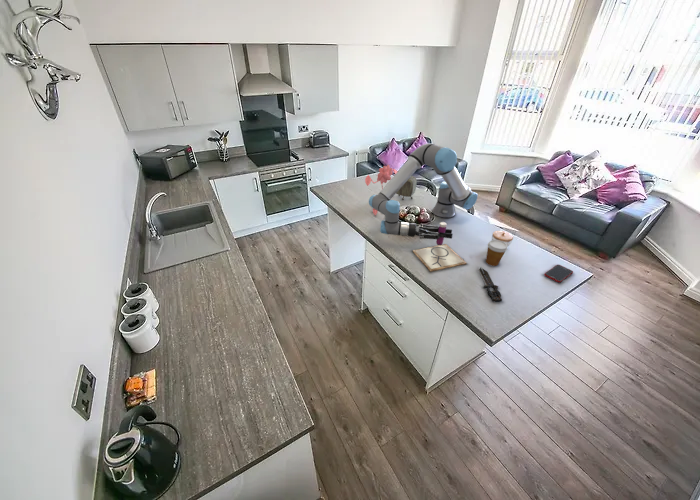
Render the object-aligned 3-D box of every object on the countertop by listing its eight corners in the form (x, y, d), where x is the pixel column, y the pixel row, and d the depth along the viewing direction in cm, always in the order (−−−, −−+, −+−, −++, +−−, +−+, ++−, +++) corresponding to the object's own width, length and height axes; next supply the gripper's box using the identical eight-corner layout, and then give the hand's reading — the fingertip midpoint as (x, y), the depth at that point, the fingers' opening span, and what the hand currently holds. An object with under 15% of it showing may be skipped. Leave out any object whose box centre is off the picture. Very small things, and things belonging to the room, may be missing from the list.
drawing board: (445, 245, 171) (446, 243, 170) (466, 264, 155) (466, 262, 155) (412, 251, 166) (412, 249, 165) (430, 272, 150) (430, 270, 149)
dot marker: (440, 241, 164) (444, 221, 156) (443, 245, 161) (448, 224, 154) (434, 242, 163) (438, 222, 155) (438, 246, 160) (442, 225, 153)
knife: (477, 268, 152) (477, 266, 152) (490, 269, 152) (490, 267, 151) (488, 301, 132) (489, 299, 131) (503, 302, 131) (504, 300, 130)
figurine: (362, 214, 205) (363, 165, 185) (391, 206, 215) (395, 159, 195) (373, 223, 194) (375, 172, 174) (404, 215, 204) (409, 165, 184)
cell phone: (573, 272, 148) (574, 271, 148) (559, 283, 142) (560, 281, 141) (557, 265, 154) (558, 263, 153) (543, 275, 147) (543, 273, 146)
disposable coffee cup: (500, 259, 159) (507, 241, 152) (502, 269, 151) (509, 250, 144) (482, 256, 161) (487, 238, 155) (482, 266, 154) (488, 247, 147)
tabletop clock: (414, 198, 226) (418, 167, 212) (410, 203, 220) (414, 171, 206) (397, 195, 233) (400, 164, 219) (393, 199, 226) (395, 167, 212)
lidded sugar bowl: (493, 239, 176) (498, 226, 170) (512, 246, 169) (517, 232, 164) (486, 246, 169) (490, 232, 164) (504, 253, 163) (509, 239, 158)
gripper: (408, 228, 170) (449, 232, 166) (406, 243, 156) (451, 248, 152) (409, 216, 166) (452, 220, 161) (408, 231, 152) (454, 235, 148)
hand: (451, 234), depth 157 cm, fingers closed on dot marker, 3 cm apart
